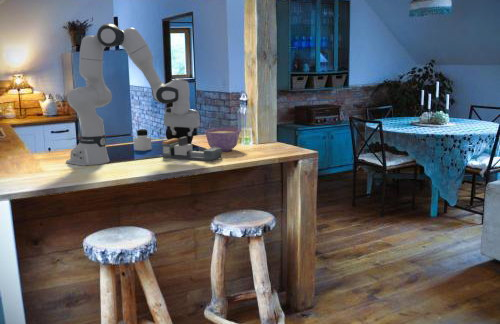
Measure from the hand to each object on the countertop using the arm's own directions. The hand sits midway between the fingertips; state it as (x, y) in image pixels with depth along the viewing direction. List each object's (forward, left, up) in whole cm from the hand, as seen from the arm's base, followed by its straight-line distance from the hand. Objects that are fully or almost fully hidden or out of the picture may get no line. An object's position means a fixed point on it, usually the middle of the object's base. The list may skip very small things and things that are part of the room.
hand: (182, 135), depth 263 cm
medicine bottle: (-34, +12, -12) cm, 38 cm away
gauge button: (-7, 0, -4) cm, 9 cm away
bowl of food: (+12, +25, -12) cm, 30 cm away
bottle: (-20, +31, -12) cm, 39 cm away
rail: (+6, 0, -12) cm, 13 cm away
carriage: (+1, 0, -10) cm, 10 cm away
